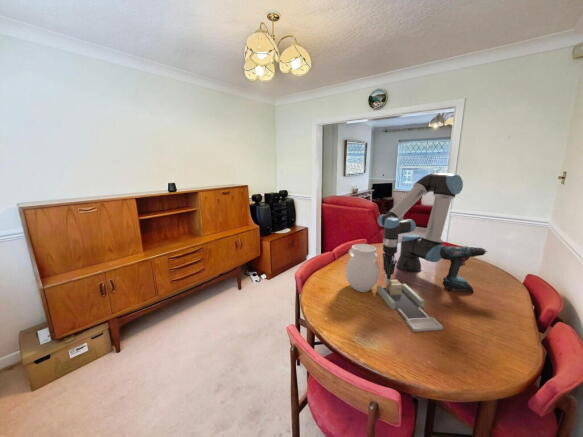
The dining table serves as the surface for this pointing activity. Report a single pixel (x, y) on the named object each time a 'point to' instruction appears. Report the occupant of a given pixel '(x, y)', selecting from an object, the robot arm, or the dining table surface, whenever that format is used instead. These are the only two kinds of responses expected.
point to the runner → (407, 306)
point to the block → (393, 287)
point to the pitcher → (362, 267)
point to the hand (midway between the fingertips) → (387, 283)
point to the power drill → (458, 266)
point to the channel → (404, 287)
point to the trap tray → (424, 324)
